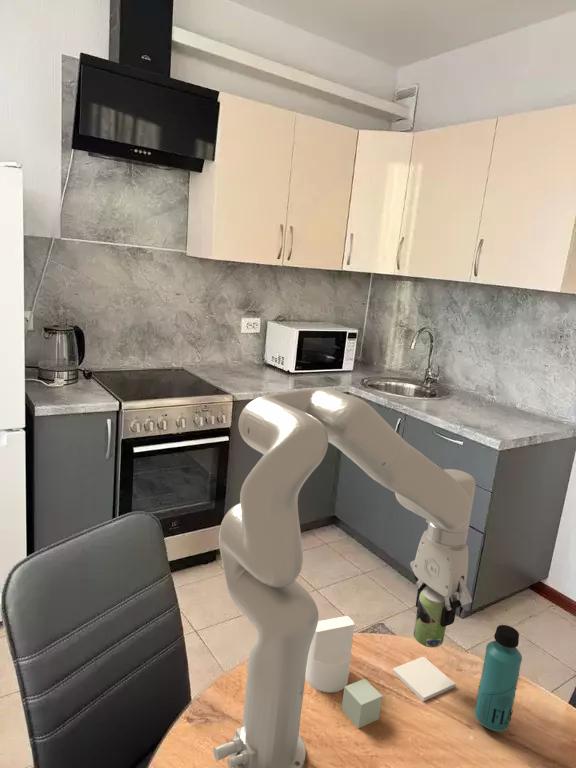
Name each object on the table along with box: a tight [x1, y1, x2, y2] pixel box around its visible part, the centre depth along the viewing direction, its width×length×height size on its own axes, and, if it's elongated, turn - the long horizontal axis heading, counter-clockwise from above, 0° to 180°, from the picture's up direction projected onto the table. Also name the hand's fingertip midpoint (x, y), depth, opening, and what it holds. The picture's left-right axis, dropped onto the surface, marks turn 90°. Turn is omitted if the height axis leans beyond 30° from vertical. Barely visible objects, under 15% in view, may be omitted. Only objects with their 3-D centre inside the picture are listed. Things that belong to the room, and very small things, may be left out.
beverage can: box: [413, 586, 447, 648], centre depth 113 cm, size 6×7×12 cm
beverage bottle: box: [474, 624, 523, 732], centre depth 103 cm, size 6×7×20 cm
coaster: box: [392, 656, 456, 702], centre depth 115 cm, size 9×9×1 cm
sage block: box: [341, 678, 383, 729], centre depth 104 cm, size 5×5×5 cm
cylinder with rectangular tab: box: [305, 615, 355, 693], centre depth 112 cm, size 9×9×12 cm
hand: (434, 614), depth 112 cm, fingers closed on beverage can, 6 cm apart
